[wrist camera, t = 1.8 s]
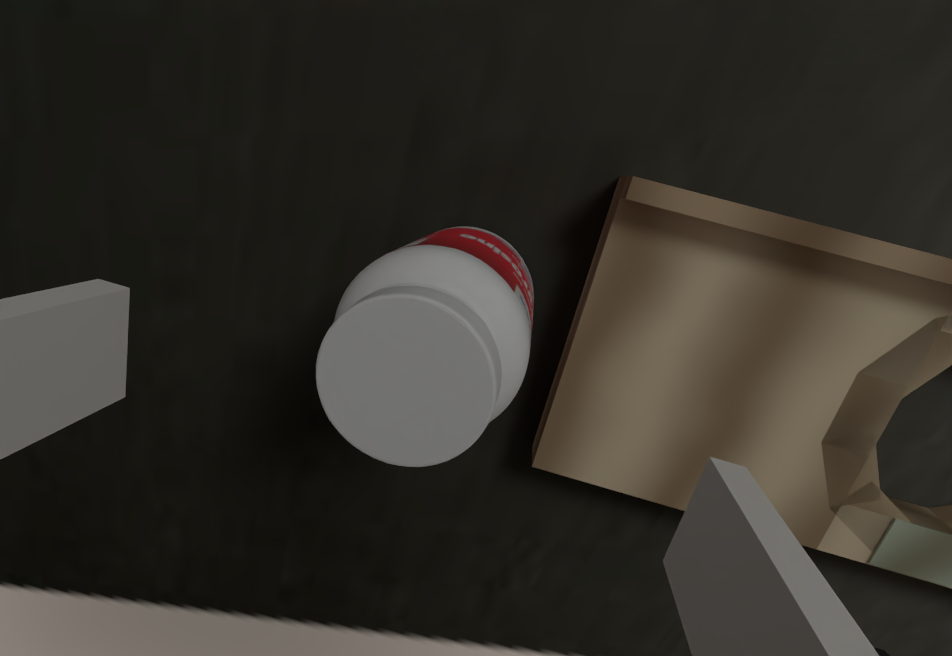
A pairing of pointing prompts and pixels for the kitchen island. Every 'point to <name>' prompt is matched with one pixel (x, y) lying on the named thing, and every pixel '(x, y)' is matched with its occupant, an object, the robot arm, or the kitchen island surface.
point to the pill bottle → (428, 347)
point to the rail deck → (752, 368)
